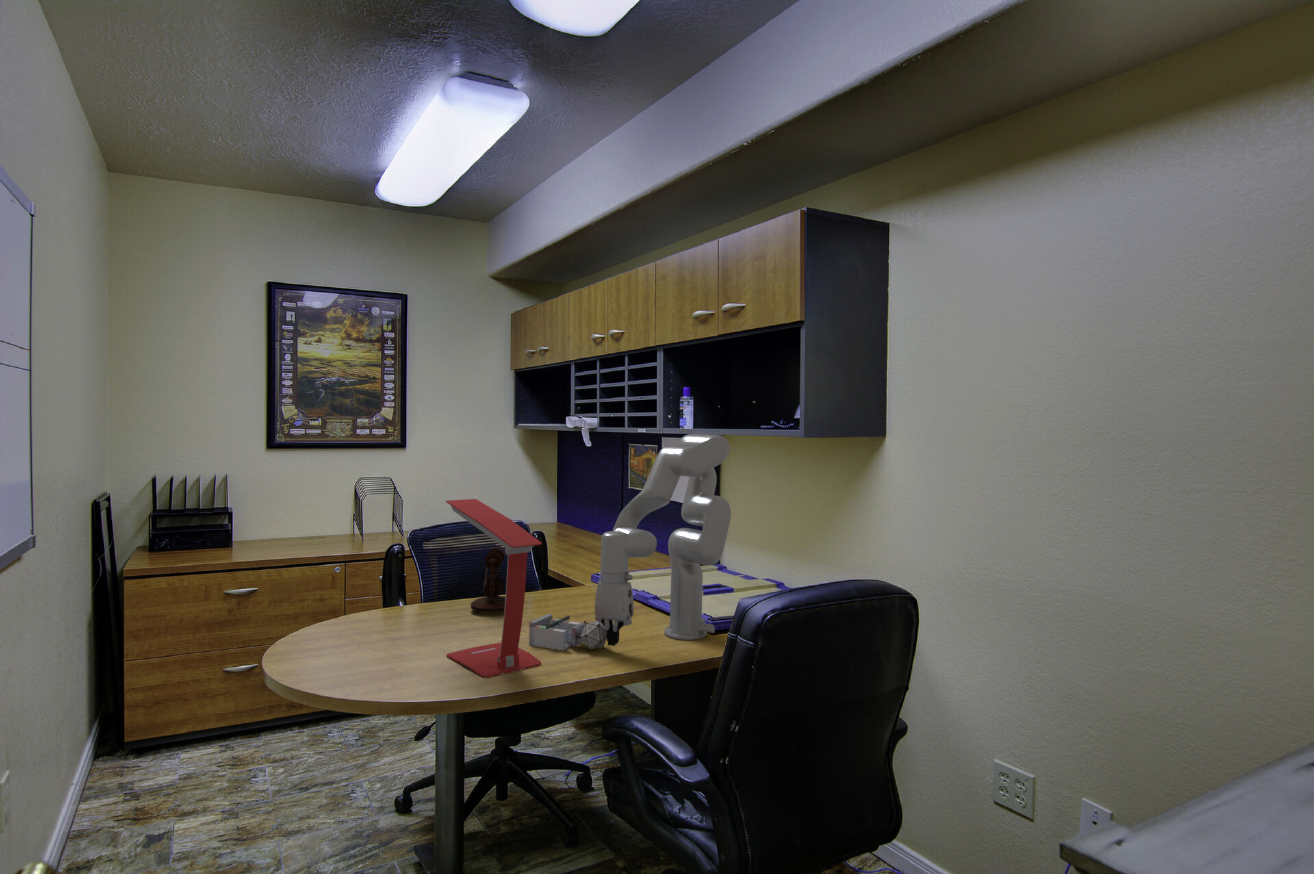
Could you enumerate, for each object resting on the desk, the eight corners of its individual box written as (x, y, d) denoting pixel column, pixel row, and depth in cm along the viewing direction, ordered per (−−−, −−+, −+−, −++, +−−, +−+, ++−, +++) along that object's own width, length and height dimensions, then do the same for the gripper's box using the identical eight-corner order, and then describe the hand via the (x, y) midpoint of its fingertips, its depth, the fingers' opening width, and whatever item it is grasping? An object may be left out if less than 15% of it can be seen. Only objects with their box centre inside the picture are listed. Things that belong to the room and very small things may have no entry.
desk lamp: (487, 633, 208) (489, 498, 207) (557, 670, 179) (559, 512, 178) (428, 644, 197) (430, 501, 196) (492, 686, 167) (494, 517, 166)
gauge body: (580, 641, 203) (580, 618, 203) (562, 650, 194) (563, 627, 194) (547, 635, 207) (547, 614, 207) (528, 644, 198) (529, 622, 198)
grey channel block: (590, 637, 202) (590, 618, 202) (569, 649, 192) (570, 629, 192) (567, 633, 206) (567, 615, 206) (545, 645, 195) (545, 625, 195)
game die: (595, 660, 198) (608, 626, 203) (607, 657, 191) (620, 623, 196) (568, 646, 195) (581, 613, 200) (579, 643, 188) (593, 609, 193)
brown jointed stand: (474, 604, 240) (475, 546, 239) (518, 604, 241) (519, 546, 241) (467, 616, 225) (468, 554, 225) (514, 616, 227) (515, 554, 226)
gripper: (644, 577, 193) (643, 644, 193) (596, 572, 199) (595, 636, 199) (633, 583, 186) (631, 652, 187) (583, 577, 192) (582, 644, 192)
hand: (612, 644), depth 193 cm, fingers closed
